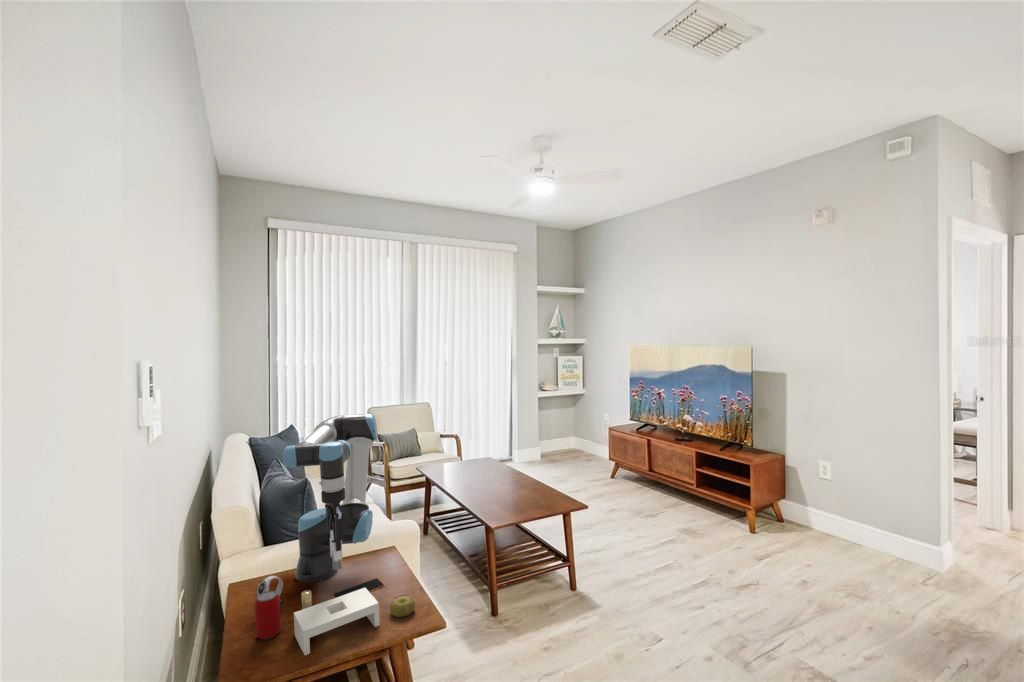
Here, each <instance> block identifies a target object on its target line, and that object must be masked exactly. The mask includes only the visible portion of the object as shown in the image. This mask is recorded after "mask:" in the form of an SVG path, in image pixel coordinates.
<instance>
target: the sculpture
mask: <svg viewBox="0 0 1024 682" xmlns="http://www.w3.org/2000/svg"><path fill="white" fill-rule="evenodd" d="M389 605H390V606H389V612H390V613H391V615H392V616H394V617H396V618H403V617H408V616H410V615H411V614H412V613H413V611H414V610H415V608H416V602H415V600H414V599H413V597H410V596H409V595H403V596H398V597H396V598H395V599H394V600H392V601H391V602H390V604H389Z"/></svg>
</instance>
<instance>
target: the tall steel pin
mask: <svg viewBox="0 0 1024 682" xmlns="http://www.w3.org/2000/svg"><path fill="white" fill-rule="evenodd" d="M330 534H331V553H332V569H333V570H337V571H338V570H340V569H341V568H342V567H343V563H342V559H340V560H336V561H334V555H333V543H332V540H334V537H333V529H331V530H330Z"/></svg>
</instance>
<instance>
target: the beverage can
mask: <svg viewBox="0 0 1024 682" xmlns="http://www.w3.org/2000/svg"><path fill="white" fill-rule="evenodd" d="M280 600H281V598H280V596H279V595H278V594H277V592H276V590H269V591H267V592H264V593H262V594H260V595H259V596H258V597H257V598H256V601H255V603H254V609H255V610H254V611H255V626H256V627H255V628H256V632H255V633H256V637H257V638H258V639H261V640H269V638H270V639H272V638H274V637H276V636H277V635H278V634H279V633H280V632H281V630H282V615H281V612H282V611H280Z"/></svg>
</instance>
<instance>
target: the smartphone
mask: <svg viewBox="0 0 1024 682" xmlns="http://www.w3.org/2000/svg"><path fill="white" fill-rule="evenodd" d="M384 585H385V583H383V582H382V581H381V580H380V579H379V578H378V577H376V578H373V579H369V580H368V581H364V582H362V583H359V584H357V585H353V586H351V587H349V588H345V589H343V590H340V591H337V592H334V593H332V594H331V595H332V597H333V599H334V598H337V597H340V596H342V595H345V594H348V593H351V592H354V591H357V590H359V589H362V588H366V589H367V590H368V591H369V592H370V591H372V590H375V589H377V588H380V587H382V586H384ZM384 587H385V586H384ZM382 588H383V587H382ZM380 589H381V588H380ZM375 591H376V590H375ZM372 592H373V591H372ZM370 593H371V592H370Z"/></svg>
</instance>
